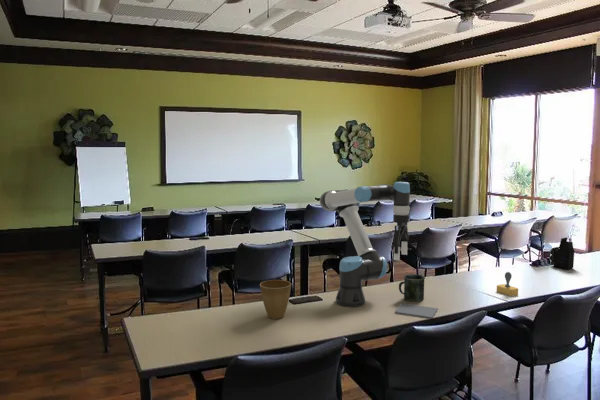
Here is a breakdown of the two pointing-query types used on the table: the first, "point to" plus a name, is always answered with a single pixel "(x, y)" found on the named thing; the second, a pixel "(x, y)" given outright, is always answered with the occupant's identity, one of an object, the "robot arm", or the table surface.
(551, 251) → the camera
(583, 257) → the table surface
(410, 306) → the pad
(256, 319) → the table surface
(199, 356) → the table surface
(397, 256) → the robot arm
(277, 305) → the plant pot
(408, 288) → the mug
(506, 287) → the rubber stamp
